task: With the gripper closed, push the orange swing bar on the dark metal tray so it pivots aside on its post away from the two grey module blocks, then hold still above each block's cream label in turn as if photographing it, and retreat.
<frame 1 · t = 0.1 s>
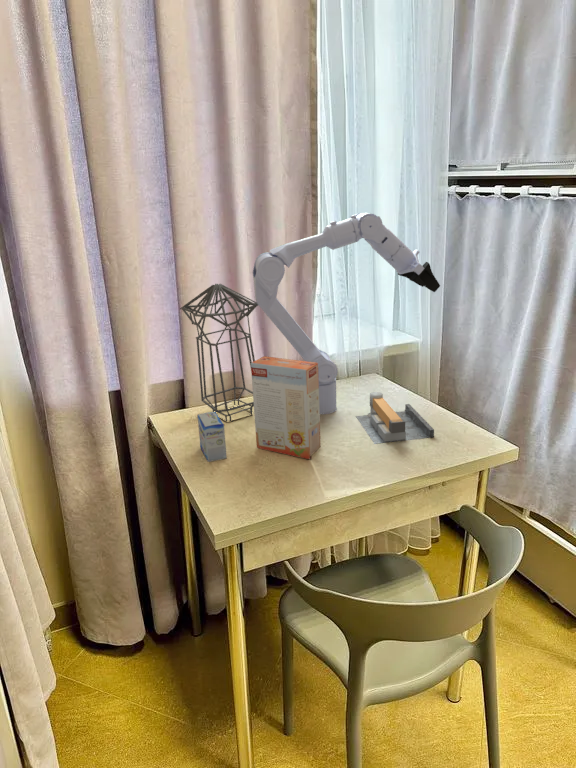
hand: (430, 286, 137), 31 cm above the table, tool tilted 45°, fingers open, 7 cm apart
cracker box: (288, 449, 125), on the table
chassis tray: (392, 430, 132), on the table
module A: (383, 425, 132), point 1 cm above the table, touching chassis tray
medicine box: (213, 454, 125), on the table
module B: (391, 435, 127), point 1 cm above the table, touching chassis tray
geometric lantern: (230, 416, 145), on the table, touching arm
swing bar: (385, 411, 130), point 5 cm above the table, hinge at 0.0°
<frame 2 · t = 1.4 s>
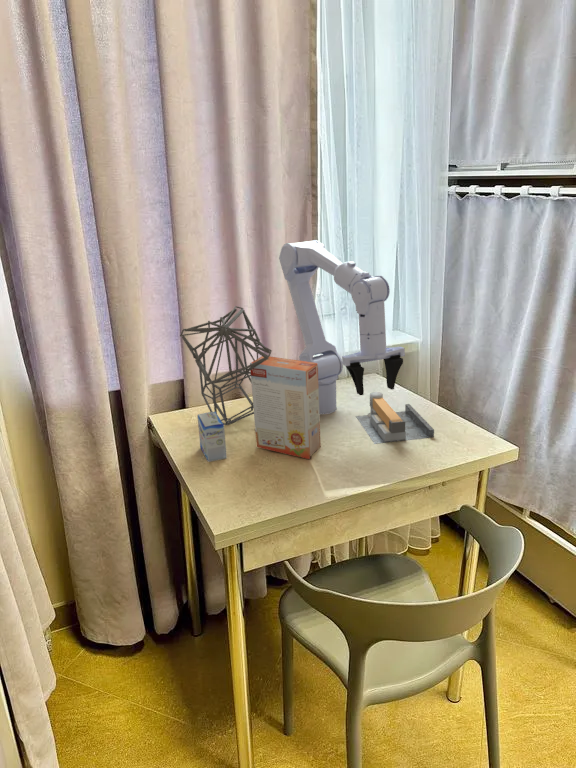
hand: (375, 391, 125), 11 cm above the table, tool pointing down, fingers open, 7 cm apart
geometric lantern: (230, 407, 143), point 3 cm above the table
everything else where it was.
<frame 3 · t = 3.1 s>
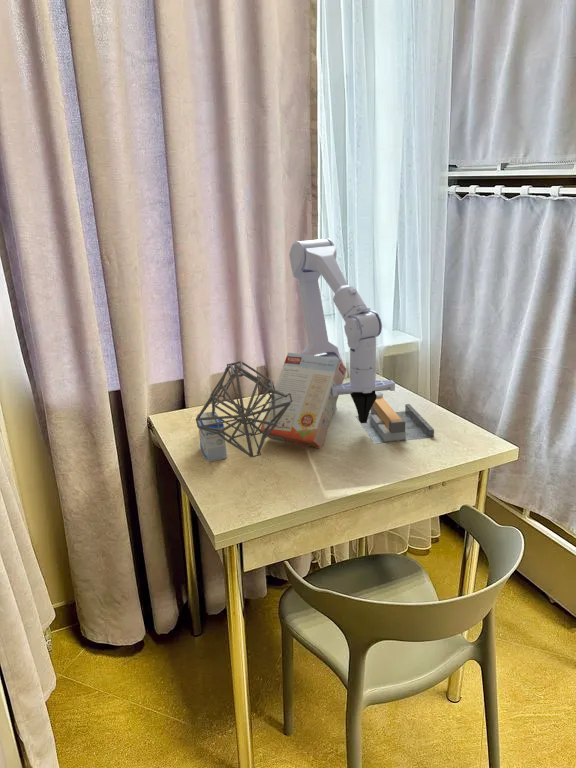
hand: (362, 421, 128), 4 cm above the table, tool pointing down, fingers closed
cracker box: (289, 441, 125), point 2 cm above the table, touching arm, geometric lantern
medicine box: (213, 454, 125), on the table, touching geometric lantern
geometric lantern: (239, 389, 141), point 8 cm above the table, touching cracker box, medicine box
everything else where it was.
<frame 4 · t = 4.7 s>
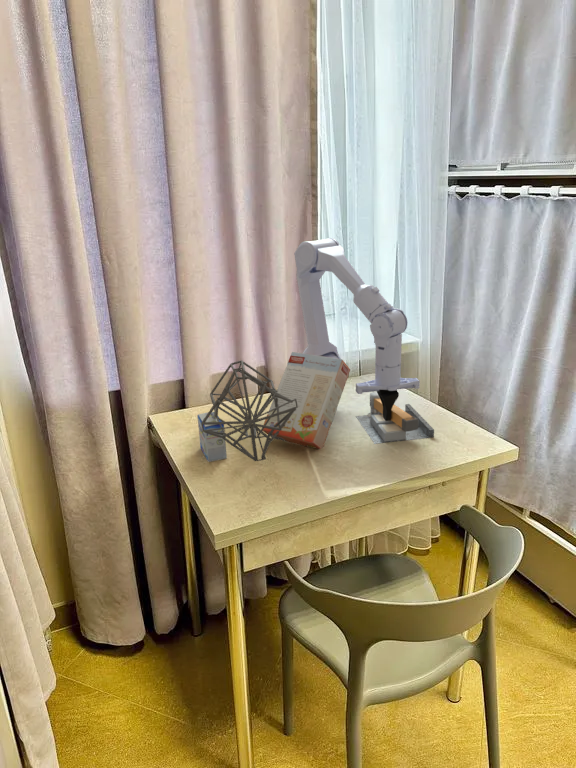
hand: (386, 418, 128), 4 cm above the table, tool pointing down, fingers closed, pressing on swing bar
medicine box: (213, 454, 125), on the table
geometric lantern: (238, 388, 140), point 8 cm above the table, touching cracker box
swing bar: (391, 410, 130), point 5 cm above the table, hinge at 11.5°, touching gripper
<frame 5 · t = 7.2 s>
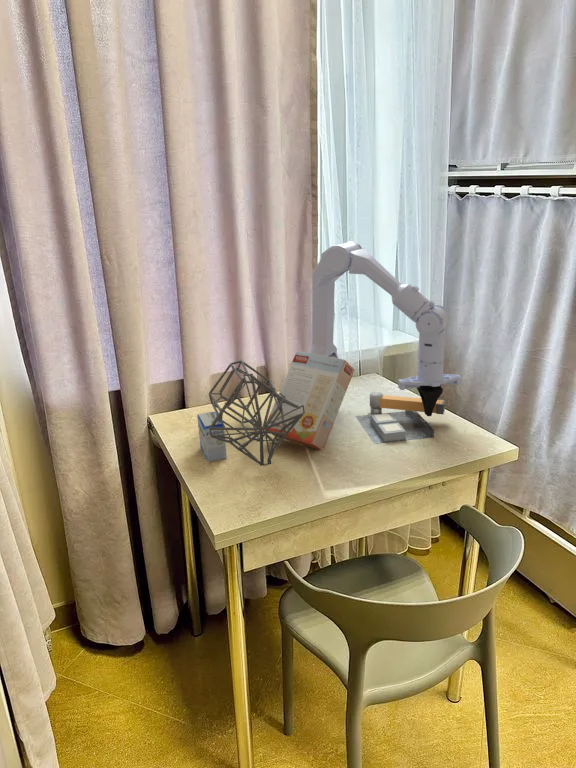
hand: (428, 414, 130), 4 cm above the table, tool pointing down, fingers closed
medicine box: (213, 454, 125), on the table, touching geometric lantern
geometric lantern: (235, 386, 140), point 9 cm above the table, touching cracker box, medicine box
swing bar: (406, 402, 134), point 5 cm above the table, hinge at 60.7°, touching gripper
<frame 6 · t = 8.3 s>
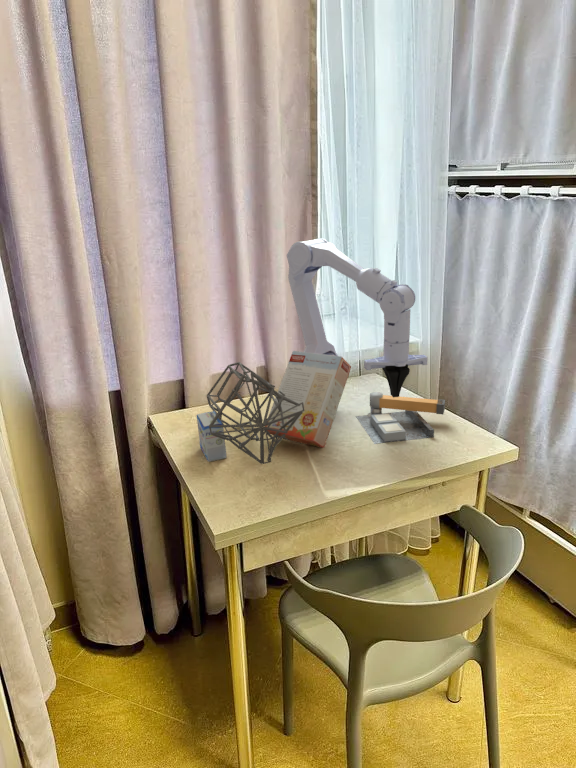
hand: (394, 395, 129), 9 cm above the table, tool pointing down, fingers closed
cracker box: (292, 440, 125), point 2 cm above the table, touching geometric lantern
swing bar: (406, 402, 134), point 5 cm above the table, hinge at 60.8°
everything else where it was.
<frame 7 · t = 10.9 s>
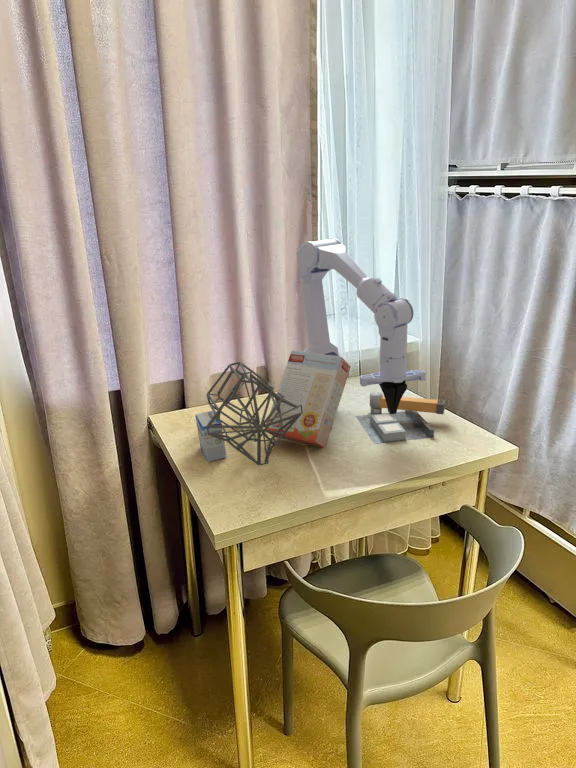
hand: (392, 412, 125), 7 cm above the table, tool pointing down, fingers closed
cracker box: (293, 441, 125), point 2 cm above the table, touching arm, geometric lantern
everything else where it was.
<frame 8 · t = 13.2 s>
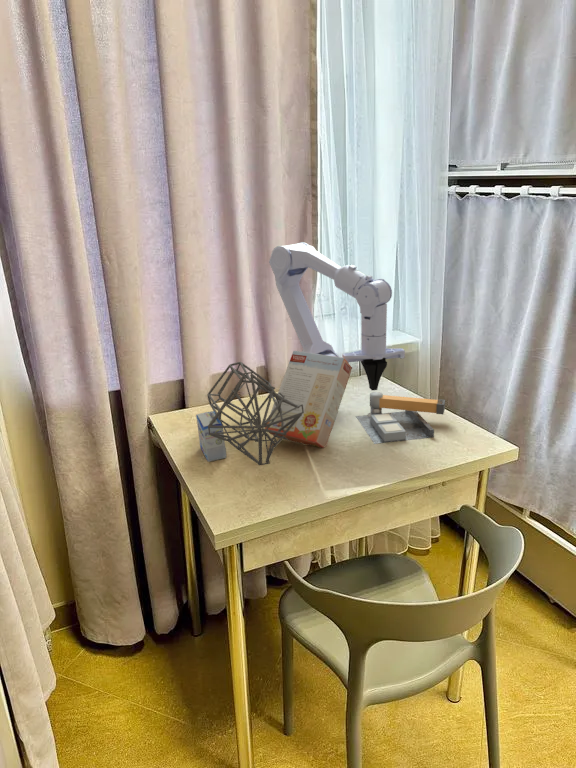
hand: (373, 388, 131), 10 cm above the table, tool pointing down, fingers closed
nothing on the table moved.
at the end: swing bar at +61° (first picture: +0°); module A moved 0.1 cm from its start; module B moved 0.1 cm from its start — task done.
